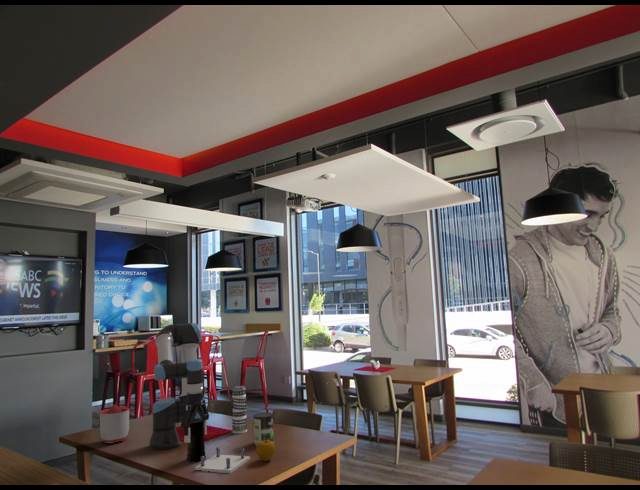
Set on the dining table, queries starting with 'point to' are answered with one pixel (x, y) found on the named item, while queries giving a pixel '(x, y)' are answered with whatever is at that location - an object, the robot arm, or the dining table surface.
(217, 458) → the locating plate
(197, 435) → the container
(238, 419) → the decorative candle
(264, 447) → the apple
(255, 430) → the coffee can
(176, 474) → the dining table surface
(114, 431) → the citrus juicer
